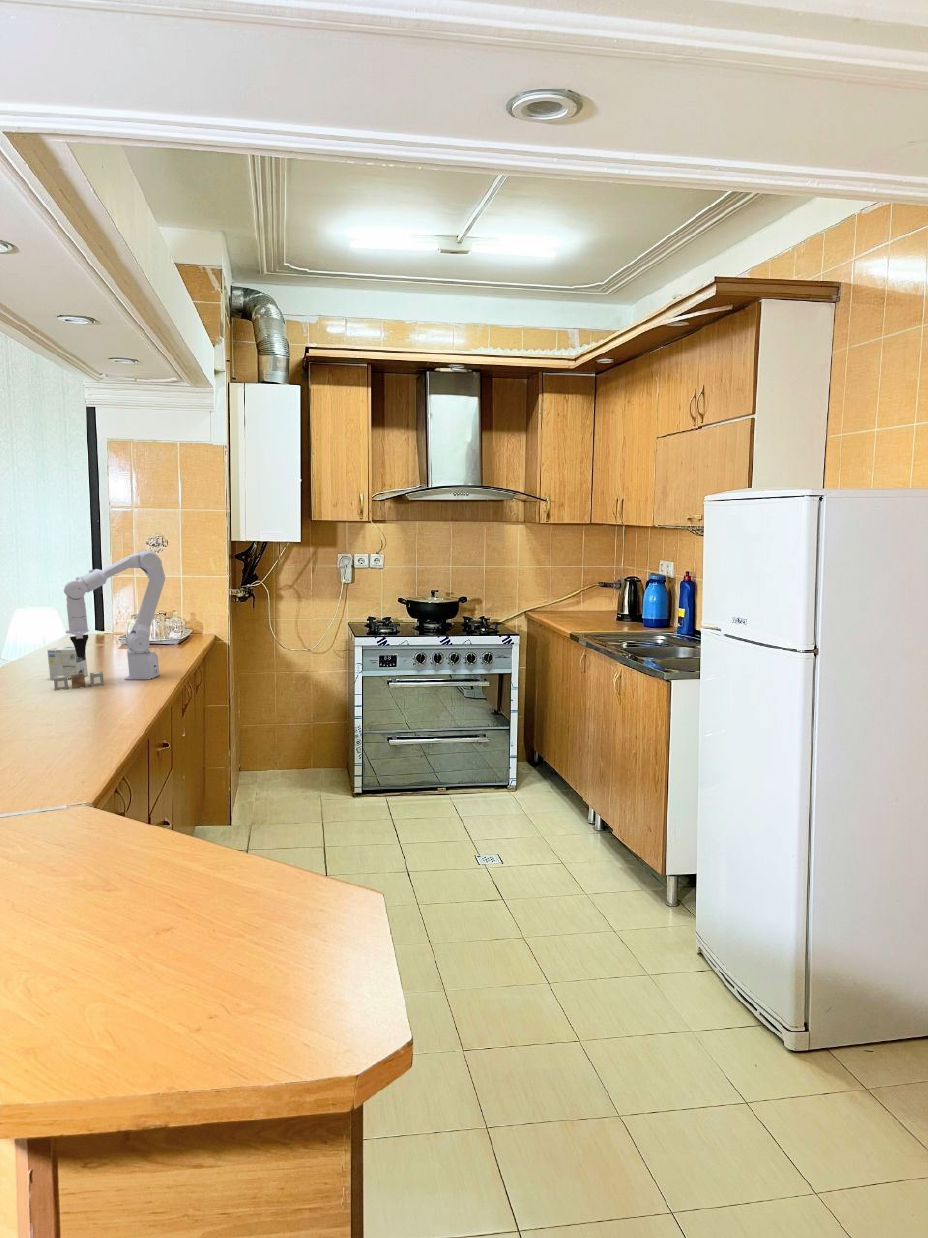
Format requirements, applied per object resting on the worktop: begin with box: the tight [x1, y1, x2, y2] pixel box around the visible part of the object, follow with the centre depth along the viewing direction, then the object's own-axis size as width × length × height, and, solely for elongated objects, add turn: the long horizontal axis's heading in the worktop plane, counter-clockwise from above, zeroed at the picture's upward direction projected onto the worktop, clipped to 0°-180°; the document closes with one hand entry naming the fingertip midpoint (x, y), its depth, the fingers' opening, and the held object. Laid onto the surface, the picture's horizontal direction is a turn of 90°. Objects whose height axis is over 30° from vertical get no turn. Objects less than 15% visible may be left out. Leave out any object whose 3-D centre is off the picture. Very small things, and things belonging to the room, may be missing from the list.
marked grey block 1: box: [53, 675, 69, 691], centre depth 293 cm, size 4×4×4 cm
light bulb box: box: [47, 646, 89, 680], centre depth 312 cm, size 11×7×11 cm, turn 84°
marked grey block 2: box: [89, 671, 105, 687], centre depth 298 cm, size 4×4×4 cm
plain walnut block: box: [70, 674, 86, 689], centre depth 295 cm, size 4×4×4 cm
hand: (81, 657), depth 297 cm, fingers closed
